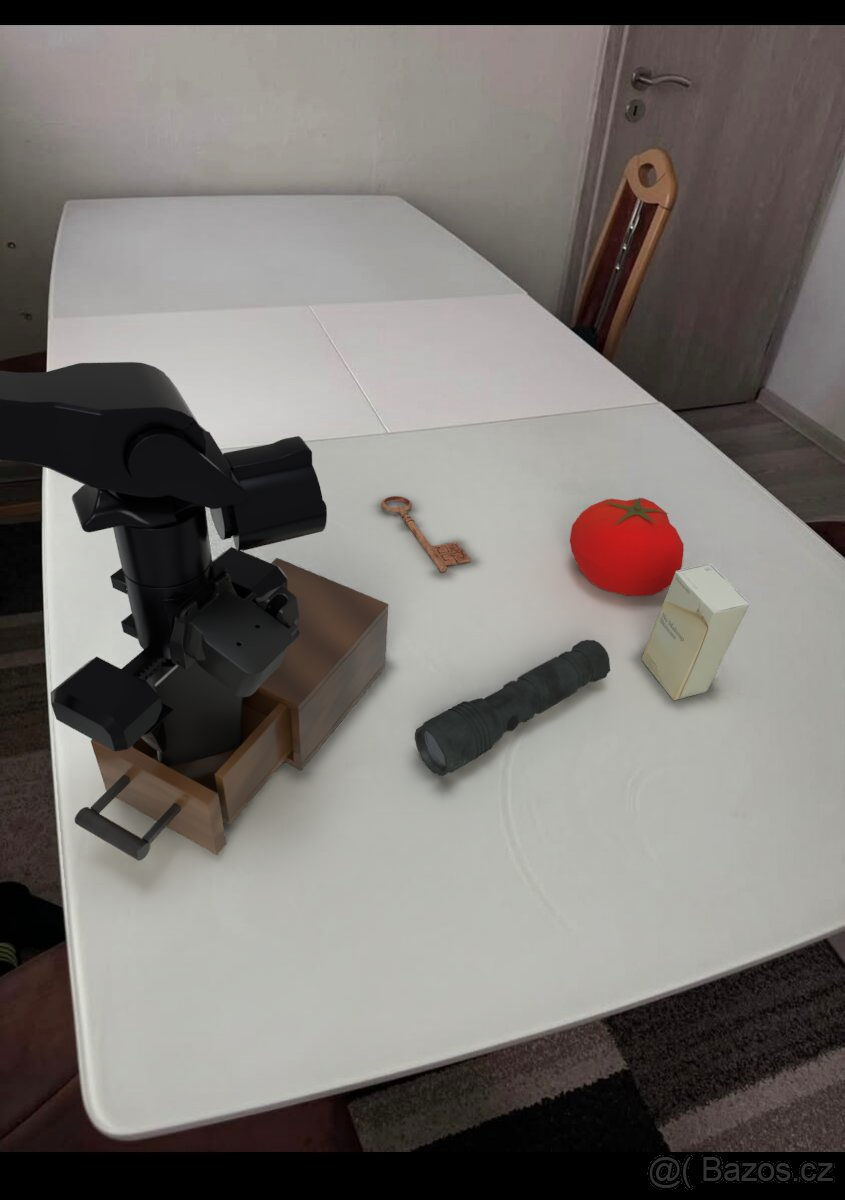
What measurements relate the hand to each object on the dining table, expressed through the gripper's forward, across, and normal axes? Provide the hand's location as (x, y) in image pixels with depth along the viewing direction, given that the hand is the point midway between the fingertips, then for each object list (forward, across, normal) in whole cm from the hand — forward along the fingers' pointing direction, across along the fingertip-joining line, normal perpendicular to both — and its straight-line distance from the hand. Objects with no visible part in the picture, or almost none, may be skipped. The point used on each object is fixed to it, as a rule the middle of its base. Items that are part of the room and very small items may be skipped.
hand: (193, 715), depth 64 cm
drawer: (+8, -1, 0) cm, 8 cm away
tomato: (+9, +46, -22) cm, 52 cm away
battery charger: (+4, 0, 0) cm, 4 cm away
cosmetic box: (+9, +34, -32) cm, 48 cm away
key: (+9, +41, +1) cm, 42 cm away
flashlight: (+9, +20, -20) cm, 30 cm away
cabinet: (+9, +12, 0) cm, 15 cm away
